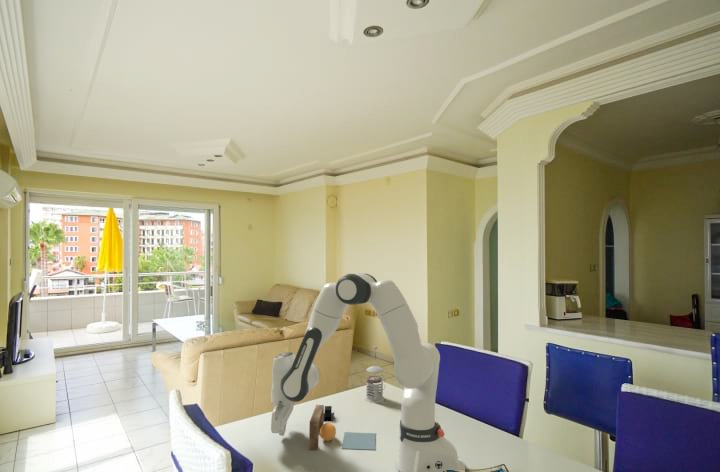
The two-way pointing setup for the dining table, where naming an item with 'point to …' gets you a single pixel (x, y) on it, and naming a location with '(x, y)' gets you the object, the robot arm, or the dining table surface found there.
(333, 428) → the ball
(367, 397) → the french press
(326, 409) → the black stepped block
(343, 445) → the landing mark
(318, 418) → the bridge
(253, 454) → the dining table surface
